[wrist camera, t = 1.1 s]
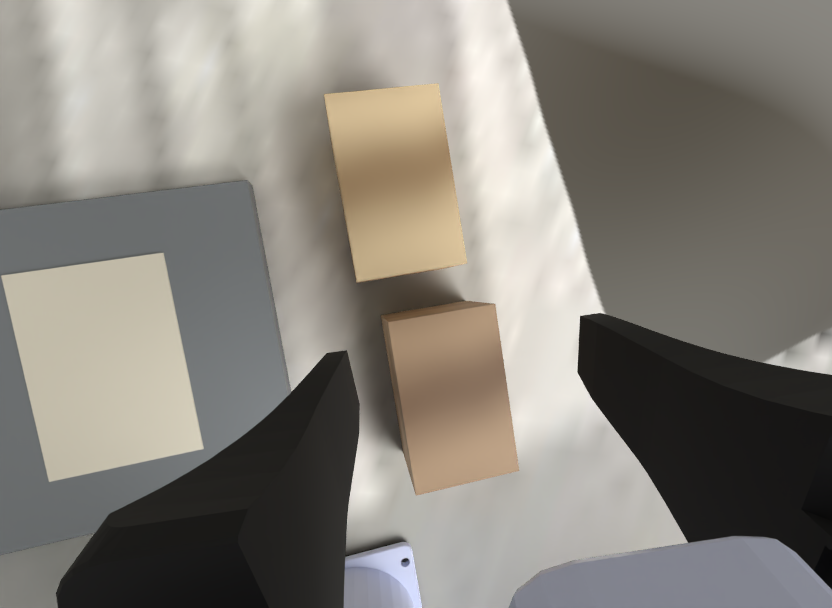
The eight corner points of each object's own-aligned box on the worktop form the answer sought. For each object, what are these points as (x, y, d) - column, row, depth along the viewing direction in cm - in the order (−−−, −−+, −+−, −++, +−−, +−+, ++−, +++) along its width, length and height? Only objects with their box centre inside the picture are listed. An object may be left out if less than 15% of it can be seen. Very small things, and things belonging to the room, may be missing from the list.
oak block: (442, 268, 23) (467, 263, 18) (356, 283, 22) (357, 281, 17) (419, 129, 22) (438, 83, 17) (330, 139, 21) (324, 94, 17)
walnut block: (484, 432, 24) (519, 470, 19) (402, 450, 23) (416, 495, 18) (464, 300, 23) (495, 303, 18) (380, 315, 22) (387, 322, 17)
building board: (306, 474, 22) (304, 484, 21) (-22, 551, 19) (-45, 566, 18) (252, 185, 21) (246, 179, 20) (-102, 228, 18) (-130, 224, 17)
